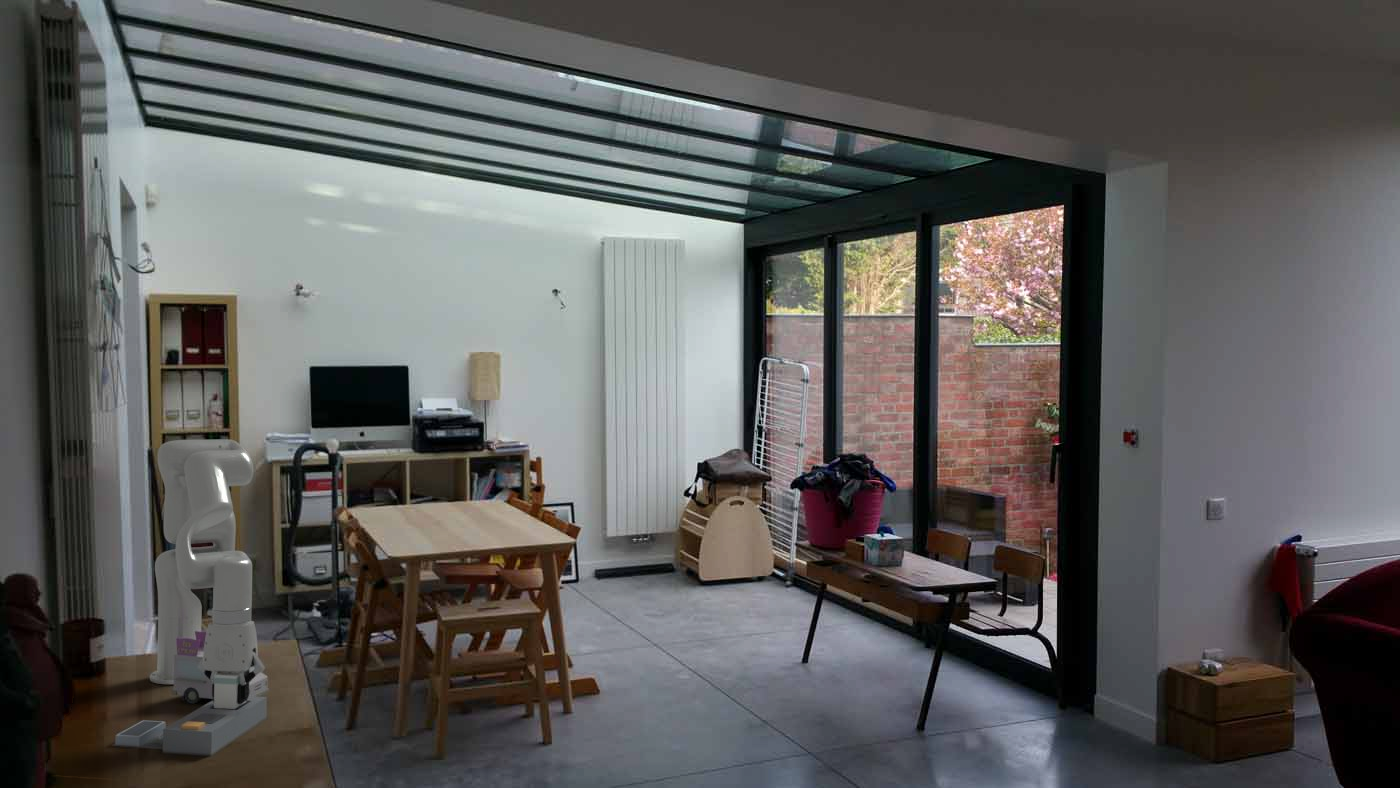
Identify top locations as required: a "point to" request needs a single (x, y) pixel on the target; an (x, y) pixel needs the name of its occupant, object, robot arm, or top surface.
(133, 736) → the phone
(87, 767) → the top surface
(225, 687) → the charger
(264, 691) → the toy vehicle
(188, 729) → the grey compartment tray
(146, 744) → the mat
